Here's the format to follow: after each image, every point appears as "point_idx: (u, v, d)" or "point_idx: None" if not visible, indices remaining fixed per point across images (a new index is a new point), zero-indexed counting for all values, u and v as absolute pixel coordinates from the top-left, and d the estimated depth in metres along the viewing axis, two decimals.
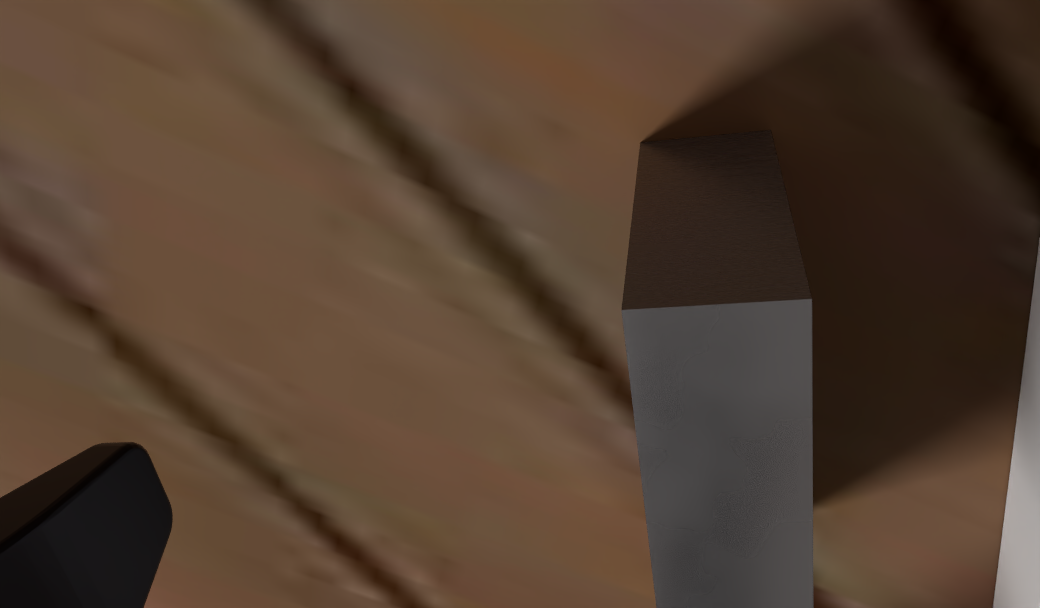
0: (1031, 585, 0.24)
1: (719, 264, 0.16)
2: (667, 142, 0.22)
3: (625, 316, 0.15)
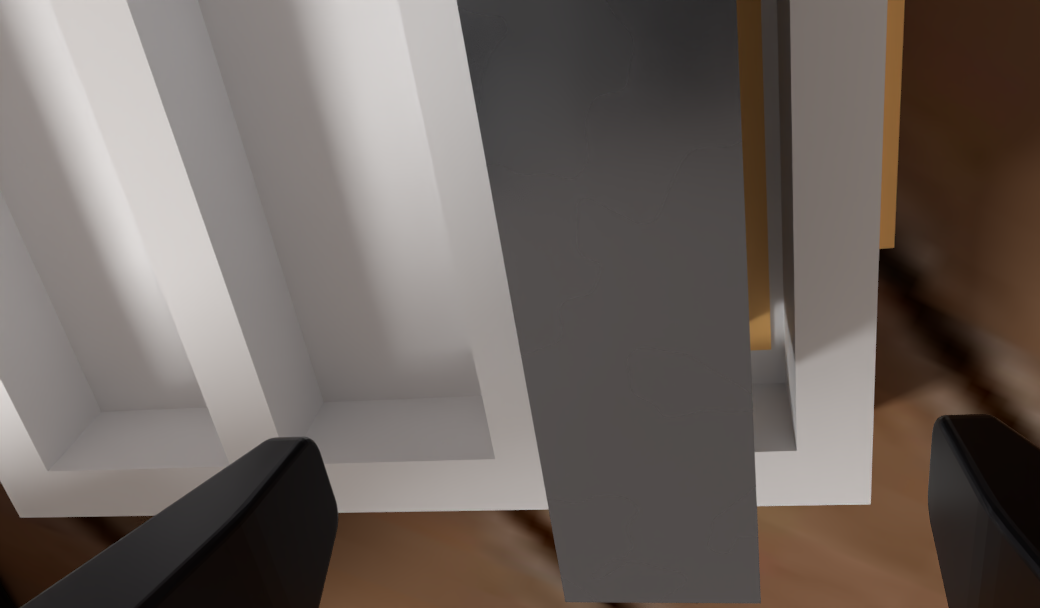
0: None
1: None
2: None
3: None
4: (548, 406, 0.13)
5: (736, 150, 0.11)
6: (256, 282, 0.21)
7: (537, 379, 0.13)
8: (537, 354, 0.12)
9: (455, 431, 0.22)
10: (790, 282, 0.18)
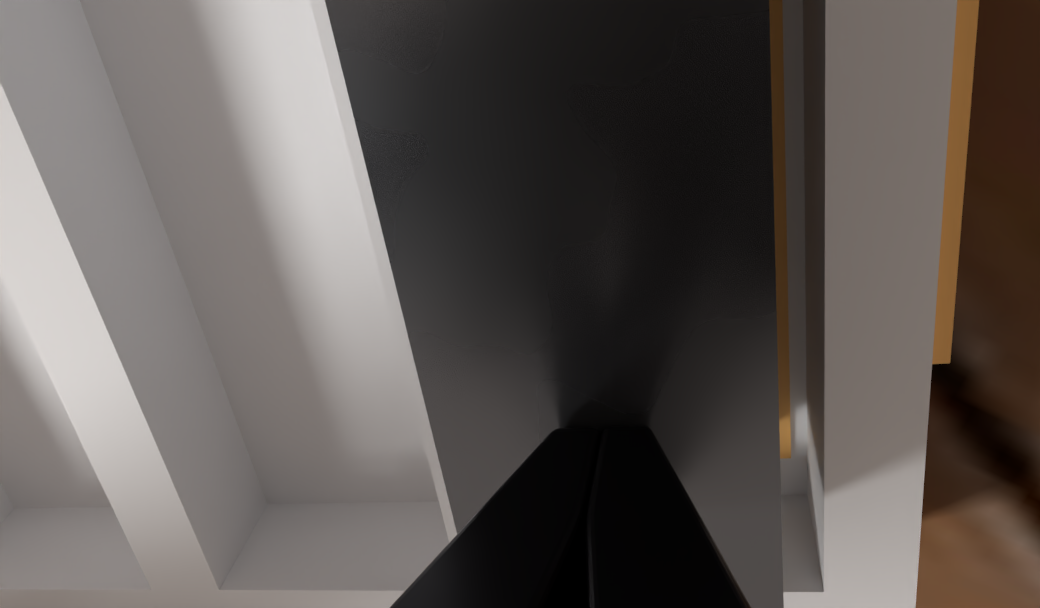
0: None
1: None
2: None
3: None
4: None
5: (768, 323, 0.07)
6: (177, 378, 0.17)
7: None
8: None
9: (416, 549, 0.18)
10: (818, 395, 0.15)
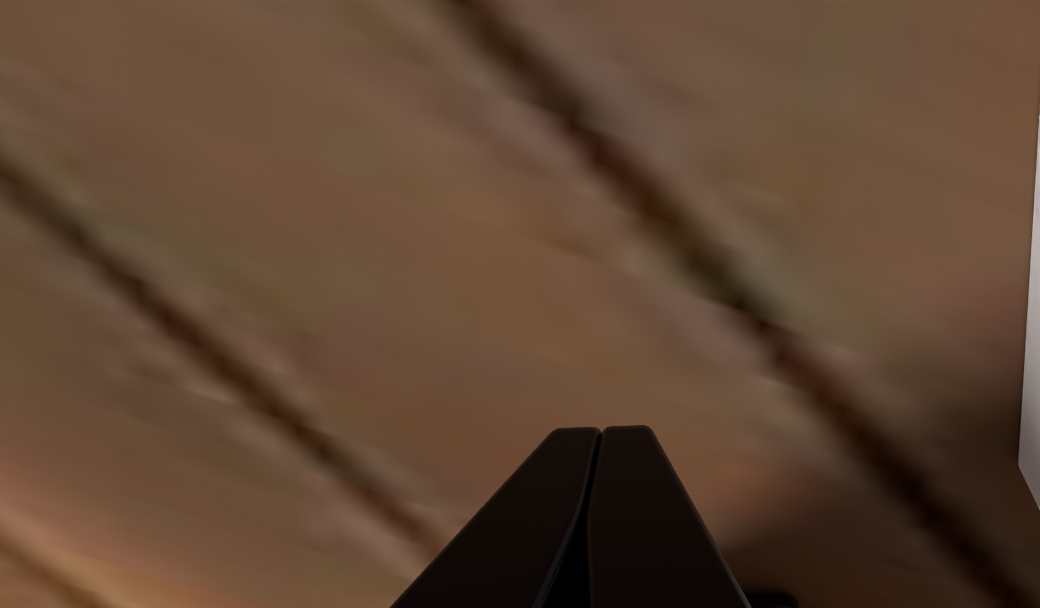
0: None
1: None
2: None
3: None
4: None
5: None
6: None
7: None
8: None
9: None
10: None
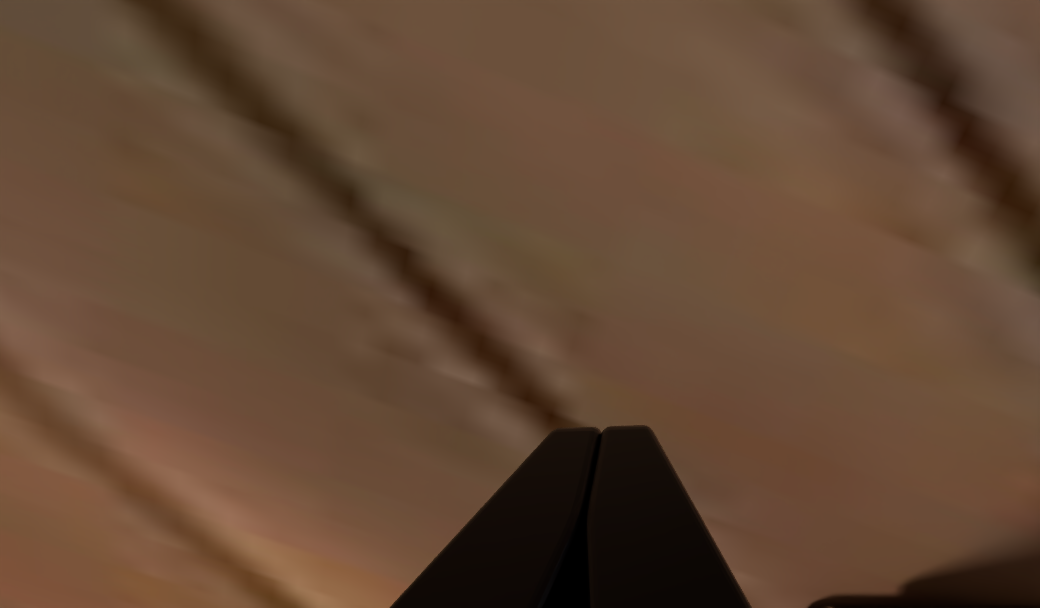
0: None
1: None
2: None
3: None
4: None
5: None
6: None
7: None
8: None
9: None
10: None
